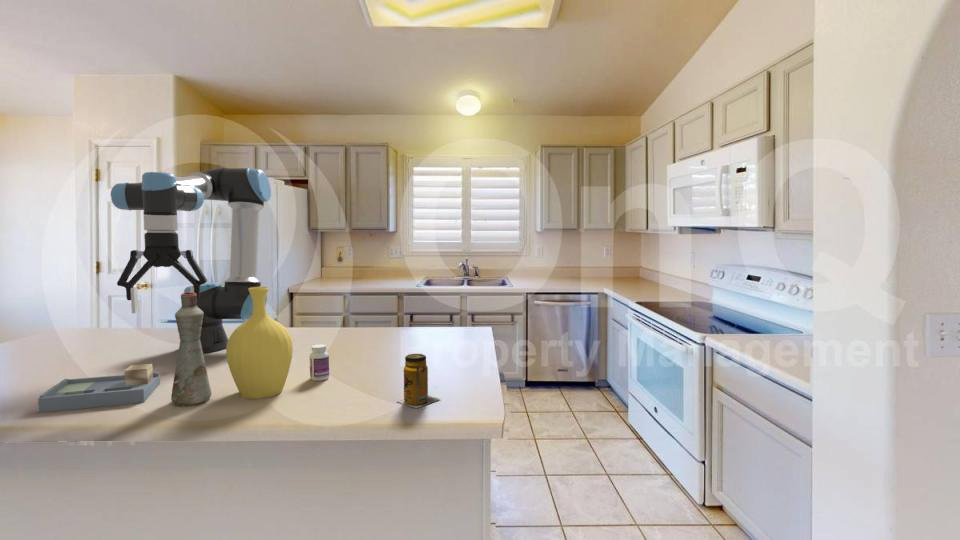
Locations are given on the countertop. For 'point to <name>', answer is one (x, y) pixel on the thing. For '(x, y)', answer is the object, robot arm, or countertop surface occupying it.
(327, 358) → the pill bottle
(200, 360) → the bottle
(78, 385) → the blue gray tray
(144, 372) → the block
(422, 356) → the condiment
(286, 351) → the vase
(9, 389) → the countertop surface
